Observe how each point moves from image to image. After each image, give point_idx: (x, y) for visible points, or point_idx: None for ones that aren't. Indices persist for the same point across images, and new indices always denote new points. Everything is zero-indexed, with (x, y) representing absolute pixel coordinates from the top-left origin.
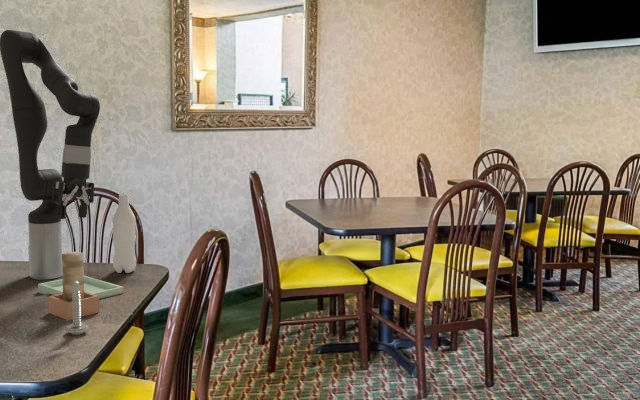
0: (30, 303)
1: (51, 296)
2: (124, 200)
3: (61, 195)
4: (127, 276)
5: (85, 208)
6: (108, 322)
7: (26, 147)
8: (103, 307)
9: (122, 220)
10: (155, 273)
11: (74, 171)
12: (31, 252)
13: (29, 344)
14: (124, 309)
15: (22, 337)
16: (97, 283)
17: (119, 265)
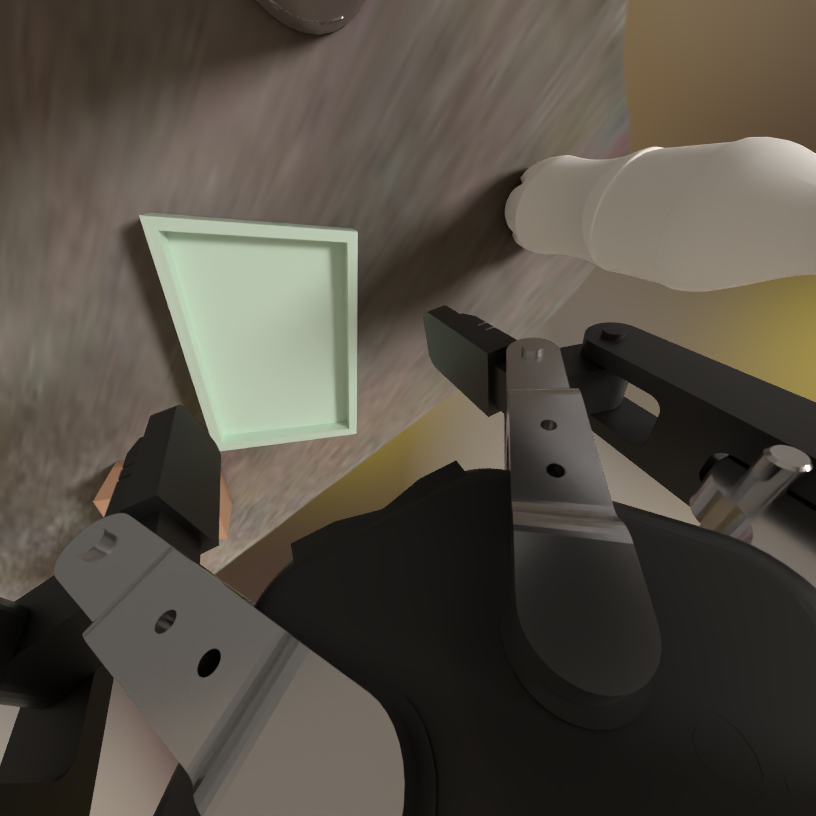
0: (84, 328)
1: (103, 504)
2: None
3: (66, 782)
4: (486, 269)
5: (472, 399)
6: (227, 537)
7: None
8: (266, 466)
9: (674, 271)
10: (542, 301)
11: None
12: None
13: (26, 579)
14: (294, 494)
15: (12, 549)
16: (346, 334)
17: (514, 226)
